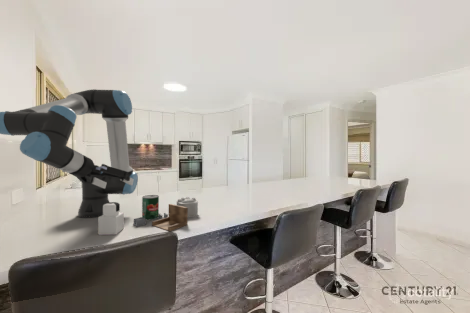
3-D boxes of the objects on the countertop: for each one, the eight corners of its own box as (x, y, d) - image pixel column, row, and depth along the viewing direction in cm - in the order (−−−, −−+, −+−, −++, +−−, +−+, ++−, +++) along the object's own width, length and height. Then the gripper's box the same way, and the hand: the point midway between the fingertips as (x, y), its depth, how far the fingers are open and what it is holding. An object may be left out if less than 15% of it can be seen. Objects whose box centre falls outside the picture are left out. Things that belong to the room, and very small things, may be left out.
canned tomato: (153, 220, 105) (153, 198, 104) (138, 219, 106) (138, 197, 106) (161, 216, 112) (161, 195, 112) (148, 215, 114) (148, 194, 114)
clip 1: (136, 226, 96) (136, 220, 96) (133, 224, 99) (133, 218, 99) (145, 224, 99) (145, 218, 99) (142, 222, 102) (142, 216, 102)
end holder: (152, 225, 98) (152, 207, 98) (170, 219, 106) (170, 203, 106) (169, 231, 91) (169, 212, 91) (187, 224, 99) (187, 207, 99)
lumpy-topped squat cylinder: (180, 218, 109) (180, 201, 109) (174, 212, 121) (174, 196, 120) (199, 215, 114) (199, 199, 114) (192, 210, 126) (192, 195, 125)
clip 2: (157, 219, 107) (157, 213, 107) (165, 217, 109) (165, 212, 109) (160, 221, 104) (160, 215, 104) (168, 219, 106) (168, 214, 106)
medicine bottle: (106, 228, 93) (106, 201, 93) (123, 228, 94) (124, 201, 93) (97, 235, 86) (97, 205, 86) (116, 234, 86) (116, 205, 86)
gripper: (43, 177, 76) (92, 195, 94) (103, 169, 71) (142, 189, 89) (50, 158, 79) (96, 179, 97) (108, 149, 74) (145, 172, 92)
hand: (118, 184), depth 93 cm, fingers open, 13 cm apart
